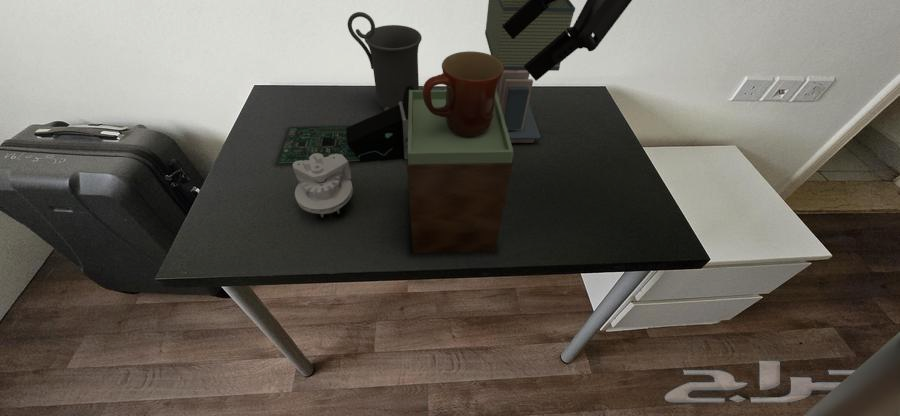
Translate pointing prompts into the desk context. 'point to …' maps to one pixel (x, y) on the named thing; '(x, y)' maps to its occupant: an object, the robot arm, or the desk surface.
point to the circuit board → (316, 143)
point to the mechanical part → (323, 183)
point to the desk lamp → (522, 59)
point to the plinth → (456, 205)
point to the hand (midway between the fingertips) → (517, 51)
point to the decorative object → (382, 133)
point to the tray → (453, 136)
